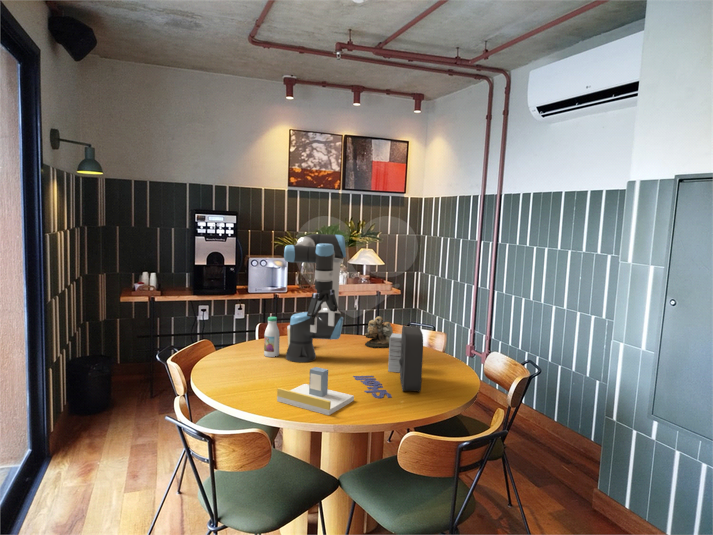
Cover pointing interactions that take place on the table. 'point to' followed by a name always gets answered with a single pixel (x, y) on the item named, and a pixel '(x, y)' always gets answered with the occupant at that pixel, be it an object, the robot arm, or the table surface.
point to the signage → (373, 383)
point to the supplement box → (394, 352)
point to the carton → (318, 382)
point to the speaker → (411, 358)
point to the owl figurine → (378, 333)
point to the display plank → (314, 399)
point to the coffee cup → (288, 334)
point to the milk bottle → (271, 338)
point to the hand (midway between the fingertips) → (322, 329)
